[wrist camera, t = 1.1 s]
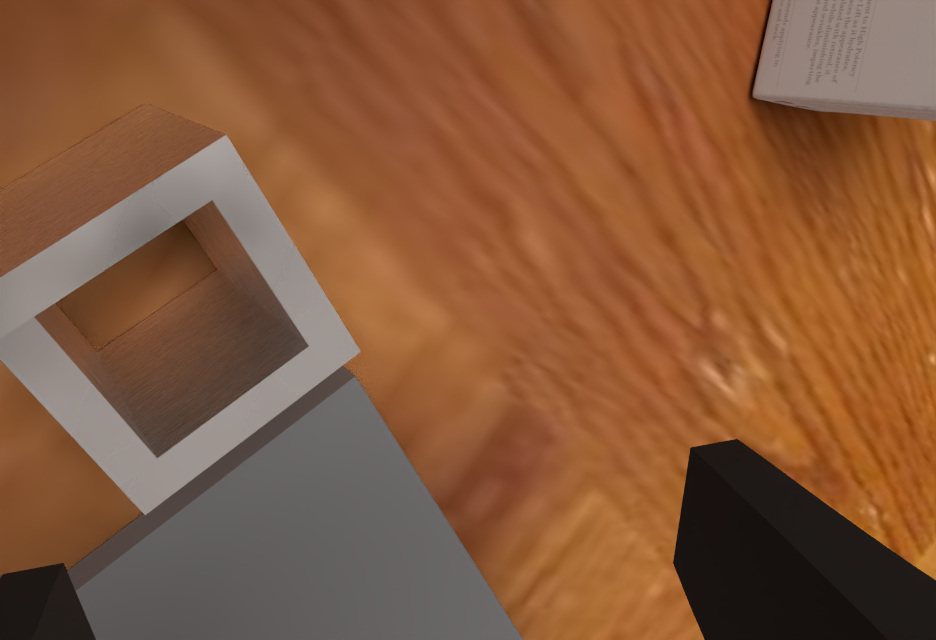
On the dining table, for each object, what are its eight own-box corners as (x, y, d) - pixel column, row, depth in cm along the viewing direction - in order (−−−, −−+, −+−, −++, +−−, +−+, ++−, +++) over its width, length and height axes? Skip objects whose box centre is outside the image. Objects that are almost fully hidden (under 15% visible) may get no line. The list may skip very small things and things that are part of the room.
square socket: (88, 396, 21) (145, 515, 16) (-62, 227, 18) (-48, 308, 13) (260, 276, 22) (360, 352, 17) (145, 102, 19) (226, 134, 15)
